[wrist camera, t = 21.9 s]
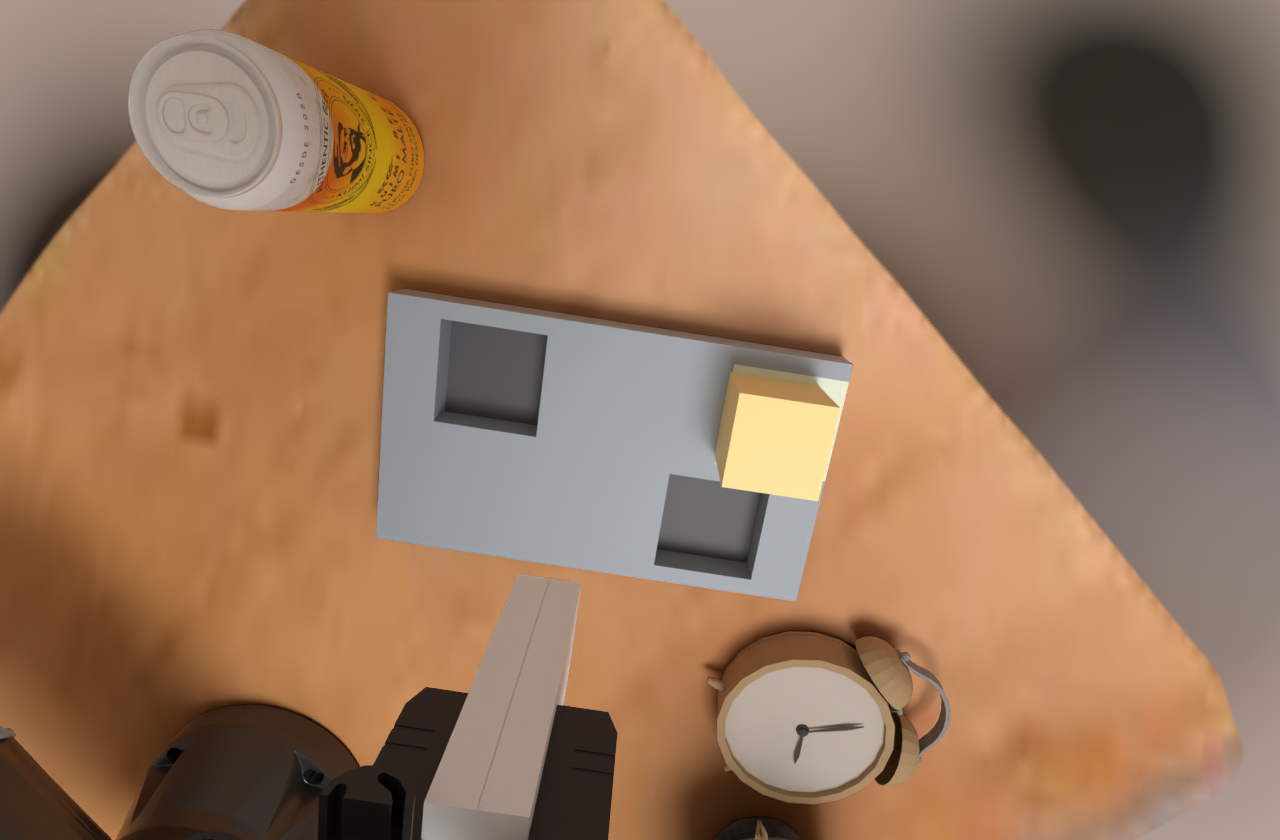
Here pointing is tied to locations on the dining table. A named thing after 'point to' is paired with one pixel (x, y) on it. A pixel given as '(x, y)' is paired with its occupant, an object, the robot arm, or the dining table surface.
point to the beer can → (268, 130)
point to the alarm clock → (820, 716)
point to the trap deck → (582, 444)
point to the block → (775, 436)
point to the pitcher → (758, 830)
